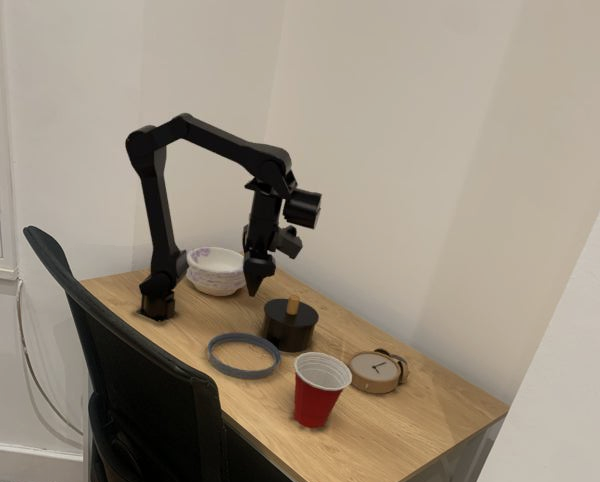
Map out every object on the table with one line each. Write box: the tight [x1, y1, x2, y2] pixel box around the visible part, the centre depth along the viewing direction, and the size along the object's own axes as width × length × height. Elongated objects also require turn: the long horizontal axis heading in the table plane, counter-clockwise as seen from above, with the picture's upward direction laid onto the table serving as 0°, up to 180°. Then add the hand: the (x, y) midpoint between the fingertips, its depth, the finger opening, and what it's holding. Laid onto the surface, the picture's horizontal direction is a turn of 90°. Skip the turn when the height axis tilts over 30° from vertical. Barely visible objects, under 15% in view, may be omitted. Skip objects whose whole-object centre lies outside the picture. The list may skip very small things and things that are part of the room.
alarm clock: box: [347, 347, 411, 394], centre depth 138 cm, size 11×5×15 cm
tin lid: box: [263, 294, 320, 328], centre depth 139 cm, size 12×12×5 cm
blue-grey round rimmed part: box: [206, 331, 282, 381], centre depth 133 cm, size 15×15×2 cm
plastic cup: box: [293, 351, 352, 429], centre depth 118 cm, size 11×11×12 cm
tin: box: [260, 313, 316, 354], centre depth 142 cm, size 11×11×7 cm
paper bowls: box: [185, 246, 247, 297], centre depth 157 cm, size 15×15×8 cm
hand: (251, 286), depth 135 cm, fingers open, 9 cm apart
